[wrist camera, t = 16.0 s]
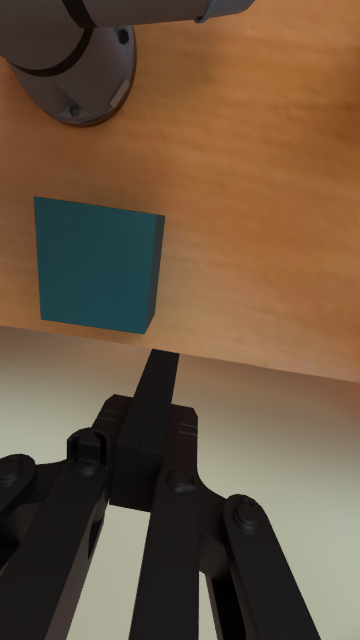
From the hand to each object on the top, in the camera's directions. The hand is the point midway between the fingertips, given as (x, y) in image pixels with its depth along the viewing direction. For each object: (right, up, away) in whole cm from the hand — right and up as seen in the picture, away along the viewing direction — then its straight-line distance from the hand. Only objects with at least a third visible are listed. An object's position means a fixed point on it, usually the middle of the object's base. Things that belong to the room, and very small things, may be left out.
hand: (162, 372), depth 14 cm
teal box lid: (-10, +9, +20) cm, 24 cm away
